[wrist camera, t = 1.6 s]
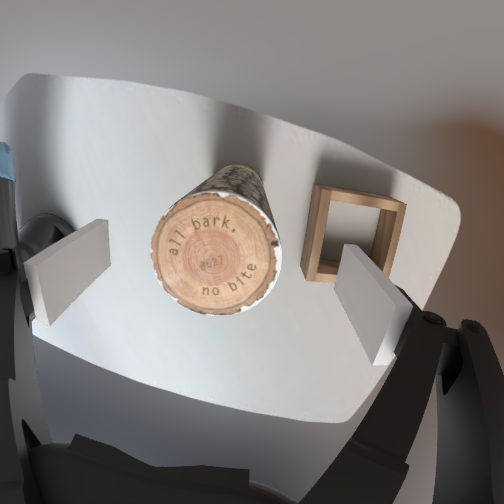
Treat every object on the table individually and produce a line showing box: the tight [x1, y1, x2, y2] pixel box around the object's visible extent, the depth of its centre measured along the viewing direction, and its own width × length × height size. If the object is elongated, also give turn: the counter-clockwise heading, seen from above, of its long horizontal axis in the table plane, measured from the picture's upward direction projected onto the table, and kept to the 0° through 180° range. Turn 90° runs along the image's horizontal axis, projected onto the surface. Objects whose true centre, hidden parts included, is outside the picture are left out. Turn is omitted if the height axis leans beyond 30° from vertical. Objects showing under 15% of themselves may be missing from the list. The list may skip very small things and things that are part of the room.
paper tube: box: [151, 164, 282, 316], centre depth 26 cm, size 7×7×25 cm
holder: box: [300, 184, 407, 283], centre depth 38 cm, size 12×12×5 cm
